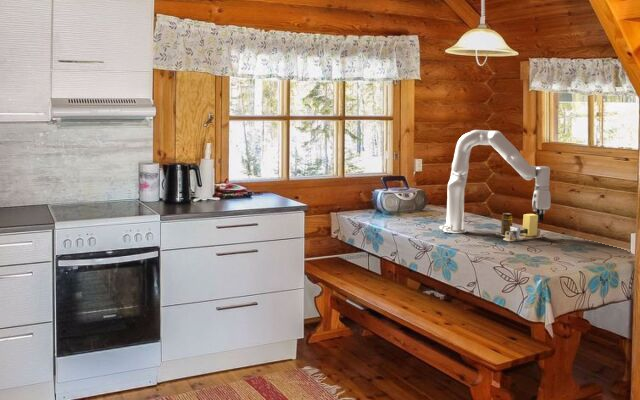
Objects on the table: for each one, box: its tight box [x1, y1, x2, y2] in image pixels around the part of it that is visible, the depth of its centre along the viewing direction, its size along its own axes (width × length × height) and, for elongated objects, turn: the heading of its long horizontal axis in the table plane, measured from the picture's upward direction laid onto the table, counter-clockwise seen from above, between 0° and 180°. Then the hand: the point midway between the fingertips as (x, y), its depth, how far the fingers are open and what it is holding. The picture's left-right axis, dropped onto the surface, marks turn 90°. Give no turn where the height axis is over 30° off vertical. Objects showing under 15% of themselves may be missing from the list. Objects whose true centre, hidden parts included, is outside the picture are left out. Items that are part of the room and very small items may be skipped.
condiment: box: [494, 212, 513, 237], centre depth 396 cm, size 7×8×12 cm
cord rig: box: [502, 227, 543, 242], centre depth 385 cm, size 24×5×5 cm, turn 118°
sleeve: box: [521, 213, 539, 236], centre depth 387 cm, size 6×5×11 cm
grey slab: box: [510, 225, 521, 239], centre depth 382 cm, size 2×5×6 cm, turn 28°
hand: (539, 220), depth 390 cm, fingers closed
